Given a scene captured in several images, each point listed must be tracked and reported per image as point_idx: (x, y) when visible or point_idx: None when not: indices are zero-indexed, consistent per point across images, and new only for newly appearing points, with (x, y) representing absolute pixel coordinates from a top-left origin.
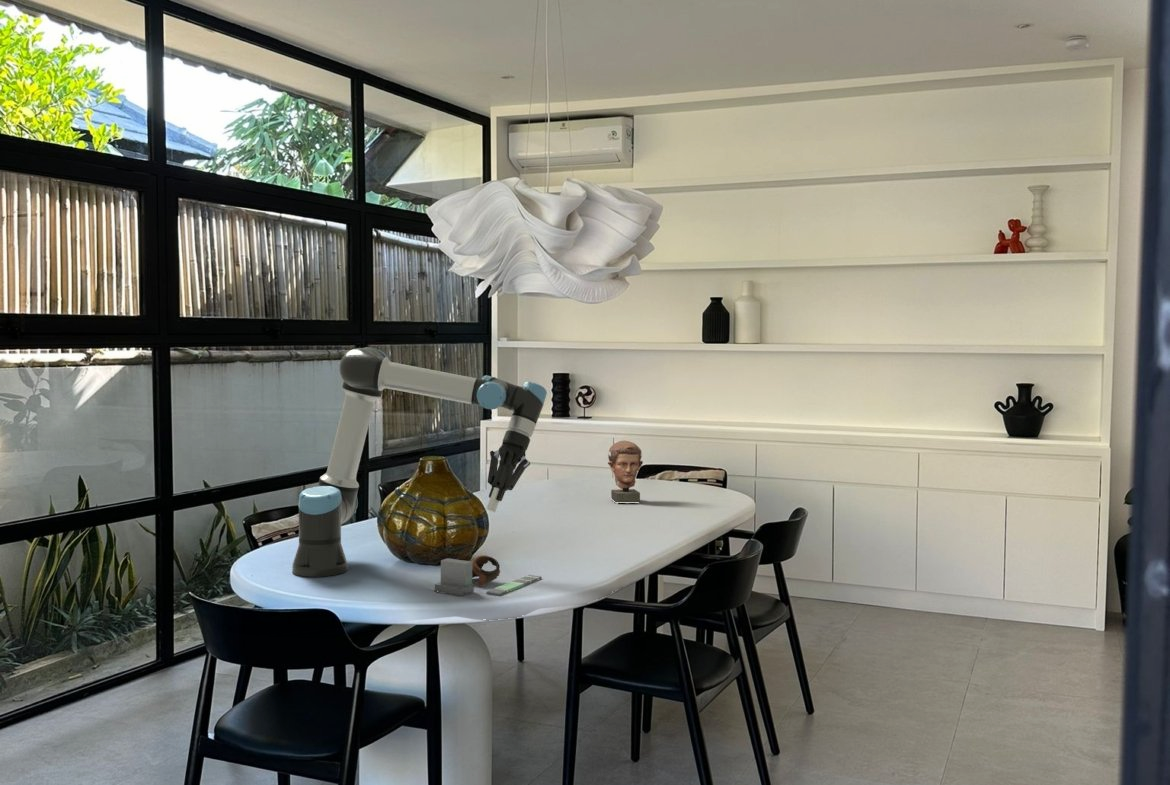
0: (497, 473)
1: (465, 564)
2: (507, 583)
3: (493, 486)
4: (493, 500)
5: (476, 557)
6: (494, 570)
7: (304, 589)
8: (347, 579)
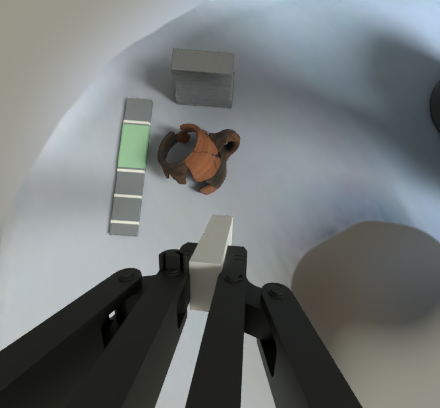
0: (226, 352)
1: (174, 49)
2: (142, 158)
3: (230, 271)
4: (208, 230)
5: (200, 139)
6: (161, 145)
7: (407, 14)
8: (397, 86)
